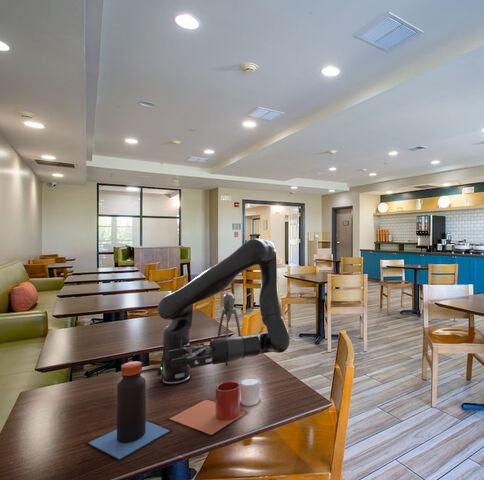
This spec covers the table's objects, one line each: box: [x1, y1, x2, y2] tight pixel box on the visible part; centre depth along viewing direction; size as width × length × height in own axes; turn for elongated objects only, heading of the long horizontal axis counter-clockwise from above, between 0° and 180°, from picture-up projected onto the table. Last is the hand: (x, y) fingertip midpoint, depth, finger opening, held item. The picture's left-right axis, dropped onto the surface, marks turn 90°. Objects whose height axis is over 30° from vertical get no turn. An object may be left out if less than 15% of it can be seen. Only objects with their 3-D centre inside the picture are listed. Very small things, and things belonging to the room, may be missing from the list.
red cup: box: [215, 380, 241, 421], centre depth 107 cm, size 7×7×9 cm
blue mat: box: [87, 420, 171, 461], centre depth 95 cm, size 14×14×1 cm
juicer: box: [217, 292, 242, 366], centre depth 155 cm, size 10×11×30 cm
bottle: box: [116, 360, 147, 443], centre depth 95 cm, size 7×7×20 cm
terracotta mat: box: [168, 399, 247, 436], centre depth 107 cm, size 18×14×1 cm
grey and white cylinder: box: [239, 377, 262, 407], centre depth 116 cm, size 7×7×7 cm
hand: (170, 358), depth 100 cm, fingers open, 8 cm apart
